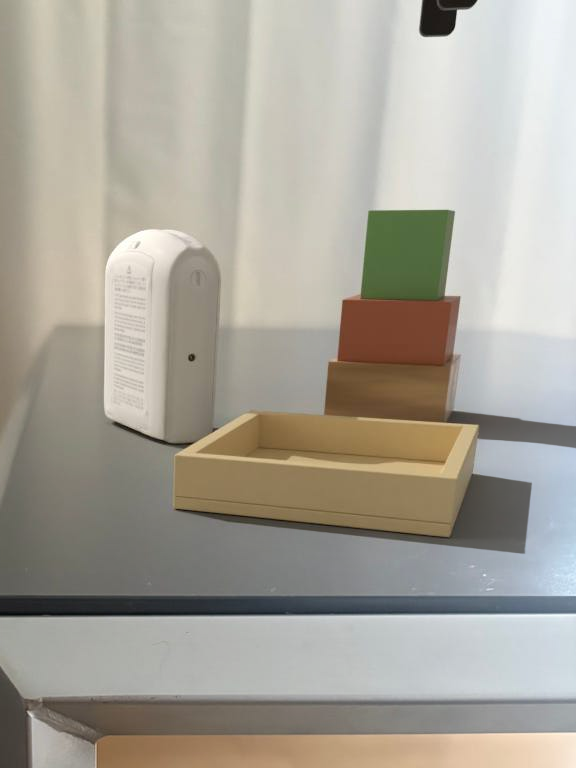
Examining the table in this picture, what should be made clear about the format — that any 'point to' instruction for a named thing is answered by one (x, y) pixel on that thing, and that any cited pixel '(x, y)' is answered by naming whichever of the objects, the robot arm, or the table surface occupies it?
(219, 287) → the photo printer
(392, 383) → the base block
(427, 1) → the robot arm
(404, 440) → the tray
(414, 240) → the green block
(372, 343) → the middle block
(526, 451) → the table surface
